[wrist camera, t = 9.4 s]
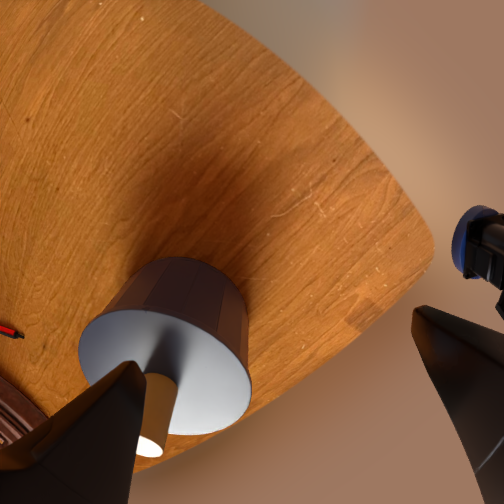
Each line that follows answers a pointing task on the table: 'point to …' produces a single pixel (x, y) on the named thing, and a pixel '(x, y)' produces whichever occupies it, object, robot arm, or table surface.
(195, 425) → the canister lid
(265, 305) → the table surface
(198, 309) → the canister
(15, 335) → the pen
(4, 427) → the desk lamp
